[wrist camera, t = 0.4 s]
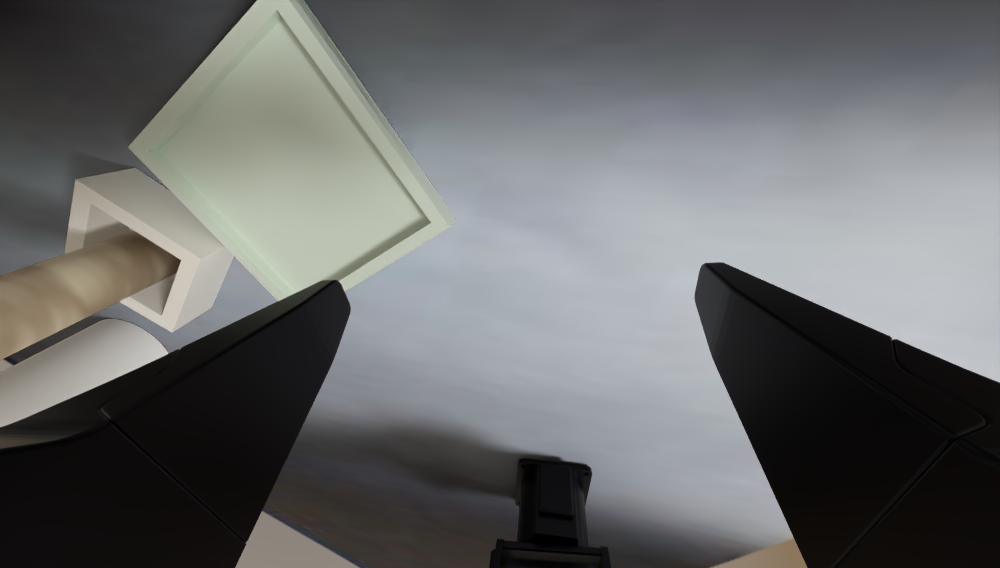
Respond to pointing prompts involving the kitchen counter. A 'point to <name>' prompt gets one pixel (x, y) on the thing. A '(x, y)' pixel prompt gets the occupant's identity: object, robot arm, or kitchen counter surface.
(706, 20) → the kitchen counter surface
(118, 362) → the cylindrical container
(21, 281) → the dowel
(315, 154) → the tray
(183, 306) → the holder
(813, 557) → the robot arm
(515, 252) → the kitchen counter surface
